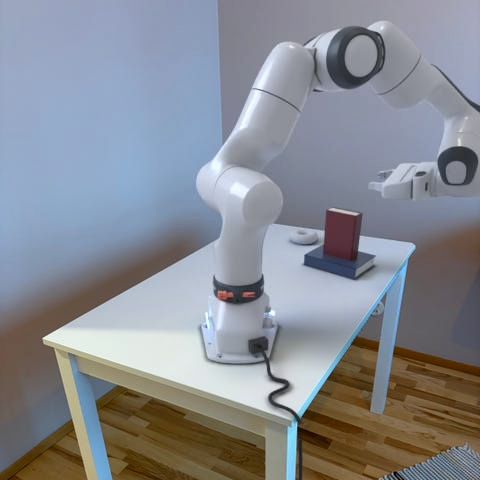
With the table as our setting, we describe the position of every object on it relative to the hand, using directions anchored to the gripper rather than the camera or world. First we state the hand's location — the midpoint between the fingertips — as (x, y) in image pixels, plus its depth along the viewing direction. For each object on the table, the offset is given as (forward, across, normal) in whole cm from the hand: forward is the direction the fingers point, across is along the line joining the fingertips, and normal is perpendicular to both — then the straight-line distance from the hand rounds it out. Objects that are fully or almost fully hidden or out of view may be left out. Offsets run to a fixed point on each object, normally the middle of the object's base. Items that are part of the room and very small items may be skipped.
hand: (373, 180), depth 129 cm
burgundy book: (+11, +1, +23) cm, 26 cm away
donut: (+30, -14, +26) cm, 42 cm away
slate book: (+11, +1, +27) cm, 29 cm away
